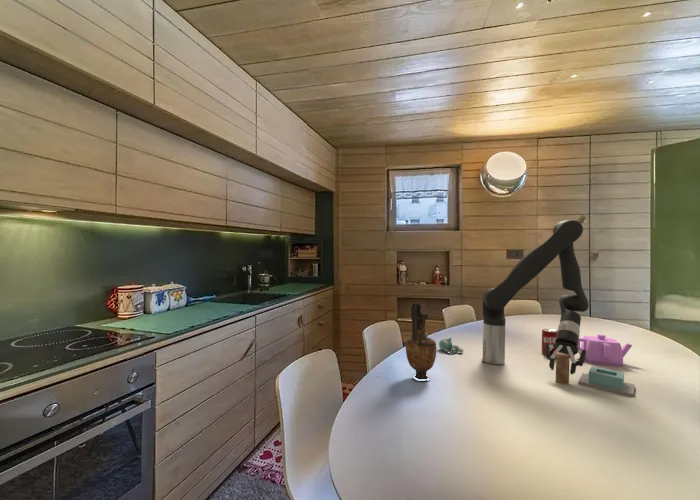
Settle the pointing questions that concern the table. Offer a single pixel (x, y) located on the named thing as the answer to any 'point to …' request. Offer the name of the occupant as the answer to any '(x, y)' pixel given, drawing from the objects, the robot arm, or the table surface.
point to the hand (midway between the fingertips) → (561, 371)
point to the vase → (420, 344)
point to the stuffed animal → (449, 346)
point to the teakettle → (603, 350)
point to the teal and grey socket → (607, 381)
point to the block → (562, 368)
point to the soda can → (548, 339)
